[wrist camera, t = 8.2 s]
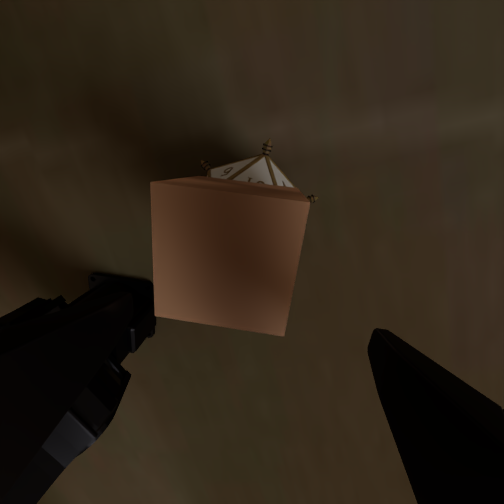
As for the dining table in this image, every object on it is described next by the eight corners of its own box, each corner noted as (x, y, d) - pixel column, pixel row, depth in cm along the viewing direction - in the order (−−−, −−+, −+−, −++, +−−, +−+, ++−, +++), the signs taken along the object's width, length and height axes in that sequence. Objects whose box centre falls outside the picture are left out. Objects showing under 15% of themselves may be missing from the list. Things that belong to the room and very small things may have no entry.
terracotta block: (195, 265, 14) (154, 315, 9) (199, 175, 12) (150, 182, 8) (281, 278, 14) (284, 336, 9) (297, 187, 12) (310, 202, 7)
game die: (273, 187, 23) (369, 175, 15) (247, 271, 23) (327, 308, 15) (184, 140, 18) (250, 83, 10) (151, 246, 18) (188, 280, 10)
